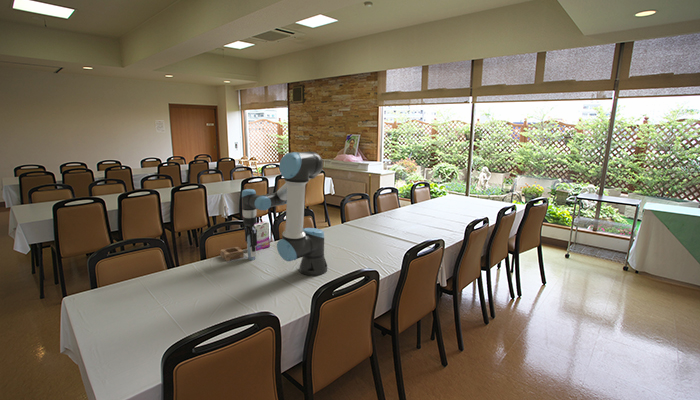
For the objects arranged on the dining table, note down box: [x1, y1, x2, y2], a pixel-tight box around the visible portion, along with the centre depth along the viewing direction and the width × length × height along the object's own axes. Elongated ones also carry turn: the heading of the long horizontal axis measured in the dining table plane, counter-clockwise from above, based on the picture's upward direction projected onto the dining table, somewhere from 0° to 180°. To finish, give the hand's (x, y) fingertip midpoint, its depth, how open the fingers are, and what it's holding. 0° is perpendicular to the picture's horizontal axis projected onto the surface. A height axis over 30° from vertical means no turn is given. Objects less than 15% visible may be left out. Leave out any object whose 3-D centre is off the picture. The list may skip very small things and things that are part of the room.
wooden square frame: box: [220, 246, 245, 262], centre depth 204 cm, size 10×10×4 cm
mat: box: [219, 253, 248, 263], centre depth 205 cm, size 14×12×1 cm
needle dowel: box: [246, 235, 256, 261], centre depth 200 cm, size 4×4×16 cm
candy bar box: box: [254, 221, 271, 252], centre depth 219 cm, size 11×5×16 cm, turn 143°
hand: (251, 255), depth 201 cm, fingers closed on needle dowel, 4 cm apart
